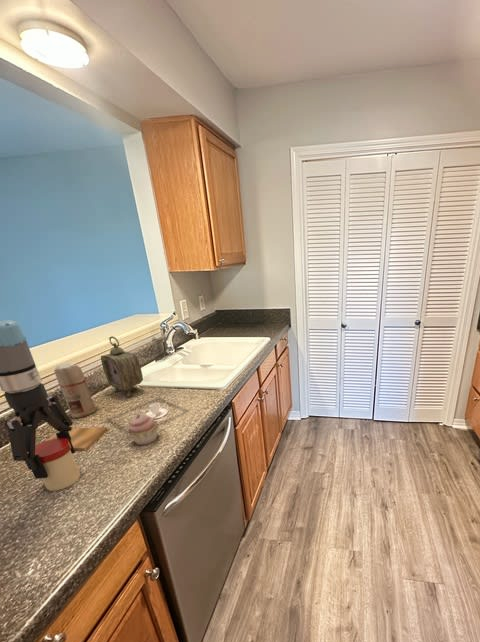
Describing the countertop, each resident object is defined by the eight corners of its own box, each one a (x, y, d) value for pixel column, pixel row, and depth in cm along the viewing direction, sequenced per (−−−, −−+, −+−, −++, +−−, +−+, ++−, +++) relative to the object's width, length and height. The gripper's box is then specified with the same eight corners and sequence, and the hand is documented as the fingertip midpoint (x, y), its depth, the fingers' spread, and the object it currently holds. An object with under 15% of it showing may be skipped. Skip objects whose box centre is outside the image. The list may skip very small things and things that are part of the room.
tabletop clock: (110, 392, 141) (93, 337, 131) (130, 385, 148) (115, 331, 138) (127, 400, 133) (111, 341, 123) (148, 391, 140) (133, 335, 130)
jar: (38, 491, 84) (22, 458, 80) (59, 472, 91) (46, 440, 87) (67, 491, 84) (53, 457, 80) (86, 471, 91) (74, 439, 87)
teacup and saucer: (150, 423, 114) (147, 413, 113) (138, 417, 119) (136, 407, 117) (172, 413, 121) (170, 403, 119) (160, 407, 125) (158, 398, 124)
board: (36, 452, 101) (34, 449, 101) (62, 431, 112) (61, 428, 112) (85, 450, 100) (84, 447, 100) (107, 430, 111) (106, 427, 111)
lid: (78, 443, 88) (76, 437, 87) (55, 463, 80) (52, 457, 79) (48, 444, 88) (45, 438, 87) (22, 464, 80) (19, 457, 79)
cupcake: (125, 441, 104) (117, 414, 100) (153, 429, 110) (146, 403, 106) (138, 452, 98) (129, 424, 94) (167, 438, 105) (160, 411, 101)
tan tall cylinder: (65, 417, 122) (46, 367, 114) (84, 407, 129) (67, 360, 121) (82, 420, 119) (64, 369, 111) (101, 409, 126) (85, 361, 118)
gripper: (-3, 408, 66) (38, 494, 75) (70, 369, 86) (95, 440, 95) (-38, 410, 66) (6, 494, 75) (43, 370, 87) (70, 441, 96)
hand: (56, 464), depth 85 cm, fingers open, 9 cm apart
